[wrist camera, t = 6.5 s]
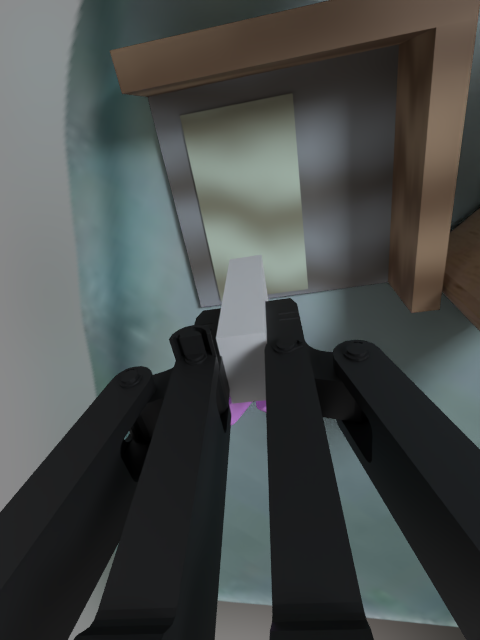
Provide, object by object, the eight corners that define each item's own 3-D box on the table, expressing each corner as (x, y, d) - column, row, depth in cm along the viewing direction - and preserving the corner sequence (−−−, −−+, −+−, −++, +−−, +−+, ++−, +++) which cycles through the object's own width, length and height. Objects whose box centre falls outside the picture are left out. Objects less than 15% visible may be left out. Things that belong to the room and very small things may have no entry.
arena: (140, 62, 24) (109, 50, 19) (431, -2, 22) (485, -35, 17) (201, 304, 34) (192, 339, 29) (409, 276, 31) (439, 309, 26)
